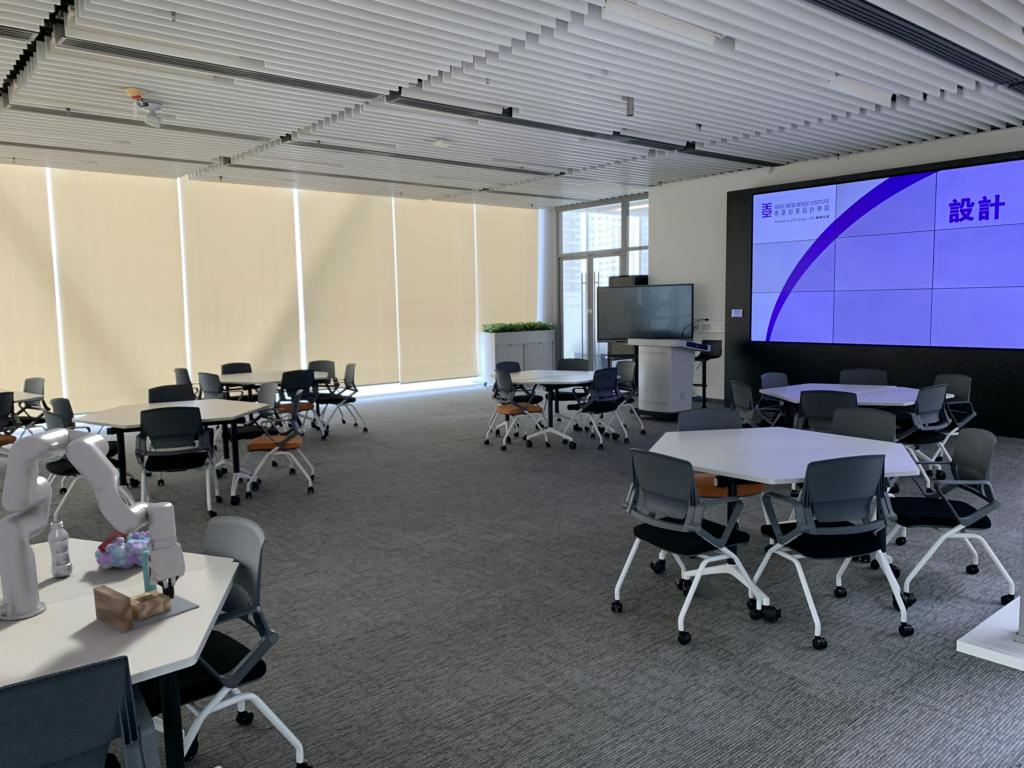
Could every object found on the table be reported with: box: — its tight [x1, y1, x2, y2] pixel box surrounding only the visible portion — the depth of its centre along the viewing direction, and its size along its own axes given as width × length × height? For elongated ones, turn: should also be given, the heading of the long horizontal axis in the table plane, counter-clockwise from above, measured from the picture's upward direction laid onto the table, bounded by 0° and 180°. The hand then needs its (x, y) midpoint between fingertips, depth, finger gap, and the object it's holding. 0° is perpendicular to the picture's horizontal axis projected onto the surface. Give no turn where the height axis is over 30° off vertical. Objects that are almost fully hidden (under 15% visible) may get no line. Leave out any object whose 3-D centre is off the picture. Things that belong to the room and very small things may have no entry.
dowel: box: [141, 550, 158, 593], centre depth 253 cm, size 4×4×14 cm
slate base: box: [95, 594, 200, 635], centre depth 236 cm, size 24×18×1 cm
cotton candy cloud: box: [94, 529, 151, 570], centre depth 282 cm, size 20×22×18 cm
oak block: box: [130, 590, 171, 620], centre depth 236 cm, size 10×10×4 cm
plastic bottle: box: [47, 520, 74, 578], centre depth 272 cm, size 6×7×20 cm
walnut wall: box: [92, 584, 133, 632], centre depth 228 cm, size 3×18×10 cm, turn 51°
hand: (169, 598), depth 241 cm, fingers closed
